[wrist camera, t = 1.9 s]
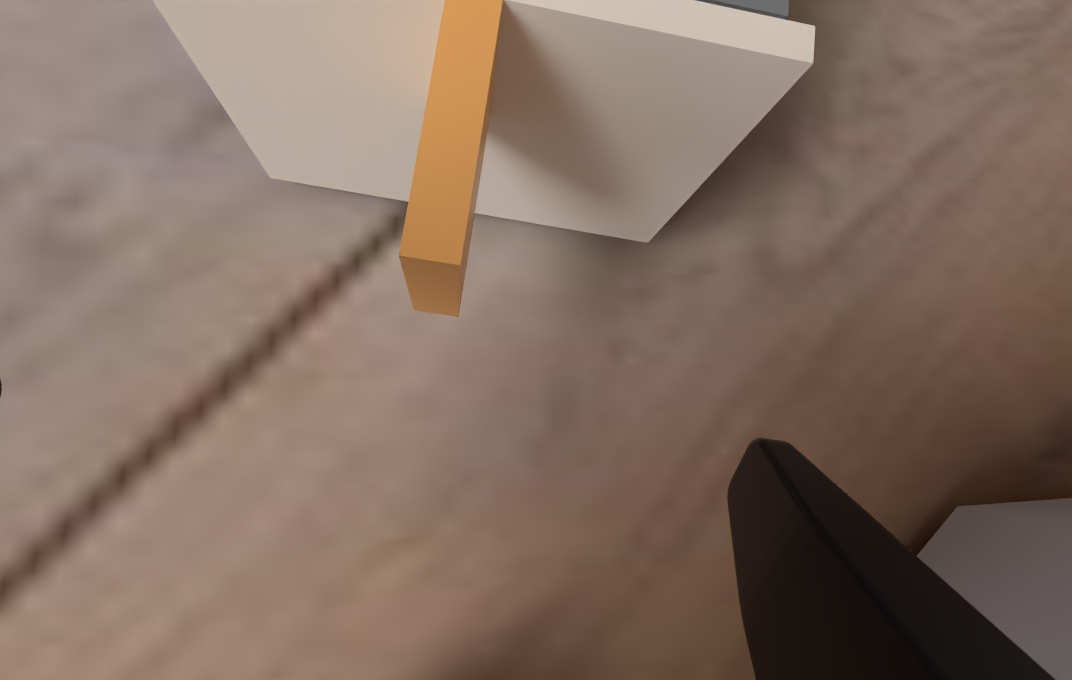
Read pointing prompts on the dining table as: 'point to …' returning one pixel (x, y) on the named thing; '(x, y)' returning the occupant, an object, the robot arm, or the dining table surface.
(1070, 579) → the bottle
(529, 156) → the white drawer unit
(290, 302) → the dining table surface
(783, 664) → the robot arm
